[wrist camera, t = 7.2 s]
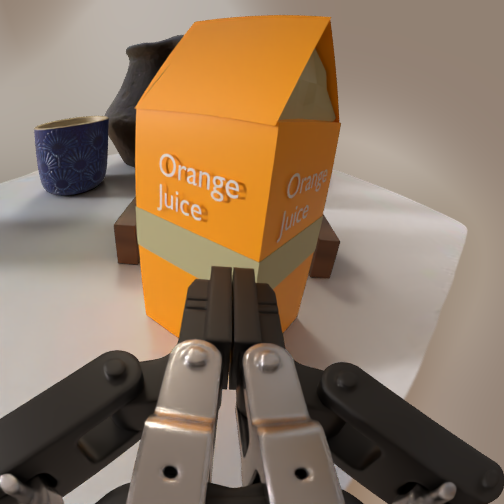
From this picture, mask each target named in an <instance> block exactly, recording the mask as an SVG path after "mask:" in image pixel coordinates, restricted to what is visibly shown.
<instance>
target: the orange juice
mask: <svg viewBox="0 0 504 504" xmlns="http://www.w3.org/2000/svg"><path fill="white" fill-rule="evenodd" d="M330 18H331V17H321V16H299V15H268V16H245V17H233V18H222V19H213V20H205V21H197V22H194V24H193V25H192V26H191V28H190V29H189V30H188V31H187V33H186V34H185V35H184V36H183V38H182V39H181V40H180V42H179V43H178V44H177V46H176V47H175V48H174V50H173V51H172V52H171V54H170V55H169V57H168V58H167V59H166V61H165V62H164V64H163V65H162V66H161V68H160V69H159V71H158V72H157V74H156V75H155V77H154V78H153V80H152V81H151V83H150V84H149V86H148V88H147V89H146V91H145V92H144V94H143V95H142V97H141V99H140V100H139V102H138V104H137V105H136V107H135V109H136V137H135V178H136V225H137V239H138V244H139V254H140V265H141V275H142V284H143V292H144V300H145V308H146V315H148V316H149V317H150V318H152V319H153V320H154V321H156V322H157V323H159V324H160V325H161V326H163V327H164V328H165V329H167V330H168V331H170V332H171V333H172V334H174V335H175V336H177V337H178V338H179V334H180V328H181V323H182V317H183V312H184V306H185V301H186V295H187V290H188V287H189V286H190V285H191V283H192V282H193V281H194V280H195V279H206V280H210V276H211V267H212V266H223V267H232V275H233V267H238V268H253V269H254V273H255V282H256V283H268V284H269V286H270V287H271V288H272V289H273V291H274V292H275V294H276V300H277V305H278V311H279V316H280V322H281V328H282V333H283V332H284V331H285V330H286V329H287V328H288V327H289V326H290V324H291V323H292V322H293V321H294V320H295V319H296V317H297V315H298V311H299V307H300V304H301V300H302V296H303V293H304V289H305V285H306V281H307V277H308V273H309V270H310V266H311V262H312V258H313V253H314V251H315V249H316V244H317V240H318V236H319V232H320V228H321V223H322V219H323V216H322V215H323V211H324V206H325V202H326V197H327V193H328V188H329V183H330V178H331V174H332V169H333V164H334V158H335V153H336V147H337V143H338V137H339V132H340V126H341V123H339V109H338V108H339V107H338V91H337V78H336V67H335V56H334V48H333V39H332V30H331V22H330Z"/></svg>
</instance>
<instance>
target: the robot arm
mask: <svg viewBox="0 0 504 504" xmlns="http://www.w3.org/2000/svg"><path fill="white" fill-rule="evenodd" d="M228 374H229V390H236V400H237V401H236V408H235V413H236V422H237V430H238V438H239V446H240V454H241V476H242V486H243V487H240V488H229V487H225V486H221V485H217V484H213V483H211V481H212V469H213V457H214V448H215V438H216V429H217V419H218V410H219V408H220V406H221V397H222V389H226V390H227V384H228ZM140 439H141V441H140V445H139V449H138V453H137V457H136V461H135V466H134V470H133V474H132V479H131V483H128V484H124V485H122V486H120V487H117V488H116V489H114V490H112V491H110V492H109V493H108V494H106V495H105V496H104V497H103V498H101V499H100V500H99V501H98V502H96V503H95V504H363V503H362V502H361V501H360V500H358V499H357V498H356V497H354V496H353V495H351V494H350V493H348V492H346V491H344V490H342V489H341V487H340V483H339V480H338V477H337V473H336V470H335V466H334V464H336V465H337V466H338V467H339V468H341V469H342V470H343V471H344V472H346V473H347V474H348V475H350V476H351V477H352V478H353V479H355V480H356V481H357V482H359V483H360V484H361V485H363V486H364V487H366V488H367V489H368V490H370V491H371V492H372V493H374V494H375V495H377V496H378V497H379V498H381V499H382V500H384V501H385V502H387V503H388V504H488V503H490V502H492V501H494V500H495V499H497V498H498V497H499V495H500V494H501V492H502V490H503V488H504V474H503V471H502V469H501V467H500V466H499V465H498V464H497V463H496V462H494V461H493V460H491V459H490V458H488V457H487V456H485V455H484V454H482V453H481V452H479V451H477V450H476V449H474V448H473V447H472V446H470V445H469V444H467V443H465V442H464V441H463V440H461V439H460V438H458V437H457V436H455V435H453V434H452V433H451V432H449V431H448V430H446V429H445V428H444V427H442V426H441V425H439V424H438V423H436V422H435V421H433V420H432V419H431V418H429V417H427V416H426V415H425V414H423V413H422V412H420V411H419V410H418V409H416V408H415V407H413V406H412V405H410V404H409V403H408V402H406V401H405V400H403V399H402V398H401V397H399V396H398V395H396V394H395V393H394V392H392V391H391V390H389V389H388V388H387V387H385V386H384V385H383V384H381V383H380V382H378V381H377V380H376V379H374V378H373V377H372V376H370V375H369V374H367V373H366V372H365V371H363V370H362V369H361V368H359V367H357V366H356V365H353V364H350V363H346V362H338V363H334V364H332V365H330V366H328V367H327V368H326V369H325V371H323V370H319V369H315V368H311V367H307V366H304V365H302V364H299V363H298V362H296V361H295V360H294V359H293V358H292V356H291V355H290V353H289V352H288V351H287V350H286V349H285V345H284V339H283V333H282V328H281V322H280V316H279V311H278V305H277V300H276V294H275V292H274V291H273V289H272V288H271V287H270V286H269V284H268V283H256V282H255V273H254V269H253V268H238V267H233V275H232V267H223V266H212V267H211V276H210V280H206V279H195V280H194V281H193V282H192V283H191V285H190V286H189V287H188V290H187V295H186V301H185V306H184V312H183V317H182V323H181V328H180V334H179V340H178V344H177V345H176V346H175V347H174V348H173V350H172V351H171V353H170V354H168V355H166V356H165V357H162V358H159V359H155V360H149V361H142V362H139V361H138V359H137V358H136V357H135V356H134V355H132V354H130V353H128V352H125V351H119V350H115V351H109V352H106V353H104V354H102V355H100V356H99V357H97V358H96V359H94V360H93V361H91V362H89V363H88V364H86V365H85V366H83V367H82V368H80V369H78V370H77V371H75V372H74V373H72V374H71V375H69V376H67V377H66V378H64V379H63V380H61V381H60V382H58V383H56V384H55V385H53V386H52V387H50V388H48V389H47V390H45V391H44V392H42V393H41V394H39V395H37V396H36V397H34V398H33V399H31V400H29V401H28V402H26V403H25V404H23V405H22V406H20V407H18V408H17V409H15V410H14V411H12V412H10V413H9V414H7V415H6V416H4V417H3V418H1V419H0V504H64V501H63V499H62V497H63V496H65V495H66V494H68V493H69V492H71V491H72V490H74V489H75V488H77V487H78V486H79V485H81V484H82V483H84V482H85V481H86V480H88V479H89V478H91V477H92V476H93V475H95V474H96V473H97V472H99V471H100V470H101V469H103V468H104V467H106V466H107V465H108V464H110V463H111V462H112V461H113V460H115V459H116V458H117V457H119V456H120V455H121V454H123V453H124V452H125V451H126V450H128V449H129V448H130V447H132V446H133V445H134V444H135V443H137V442H138V441H139V440H140Z"/></svg>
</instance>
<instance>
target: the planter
mask: <svg viewBox="0 0 504 504" xmlns="http://www.w3.org/2000/svg"><path fill="white" fill-rule="evenodd" d="M108 126H109V117H106V116H86V117H76V118H69V119H63V120H58V121H53V122H49V123H45V124H42V125H39V126H37V127H35V128H34V133H35V146H36V155H37V163H38V170H39V175H40V179H41V183H42V185H43V187H44V189H45V190H46V191H48V192H49V193H51V194H55V195H73V194H78V193H82V192H86V191H88V190H91V189H93V188H95V187H96V186H98V185H99V184H100V183H101V182H102V181H103V179H104V177H105V174H106V169H107V155H108V154H107V153H108Z"/></svg>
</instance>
